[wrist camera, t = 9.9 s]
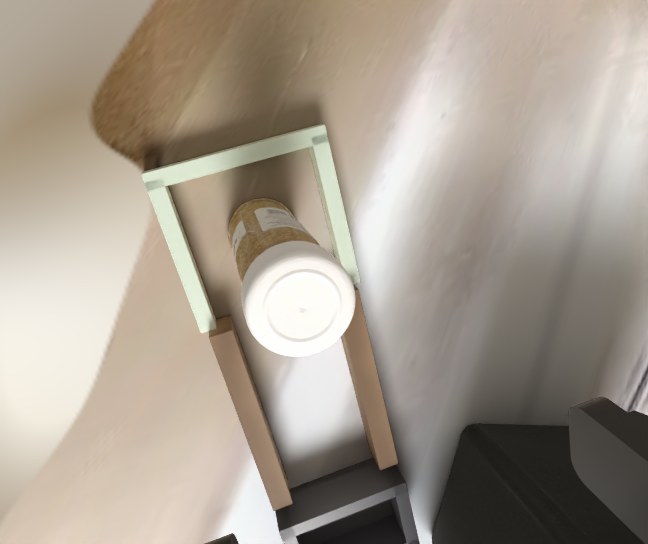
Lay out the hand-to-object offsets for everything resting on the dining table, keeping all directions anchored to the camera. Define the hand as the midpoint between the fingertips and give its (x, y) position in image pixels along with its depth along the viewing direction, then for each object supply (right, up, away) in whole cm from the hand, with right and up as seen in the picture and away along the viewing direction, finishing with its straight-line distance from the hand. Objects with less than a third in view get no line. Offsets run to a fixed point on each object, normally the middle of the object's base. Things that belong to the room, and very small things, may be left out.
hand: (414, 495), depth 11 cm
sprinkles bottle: (-6, +8, +21) cm, 23 cm away
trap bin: (-1, -14, +29) cm, 32 cm away
